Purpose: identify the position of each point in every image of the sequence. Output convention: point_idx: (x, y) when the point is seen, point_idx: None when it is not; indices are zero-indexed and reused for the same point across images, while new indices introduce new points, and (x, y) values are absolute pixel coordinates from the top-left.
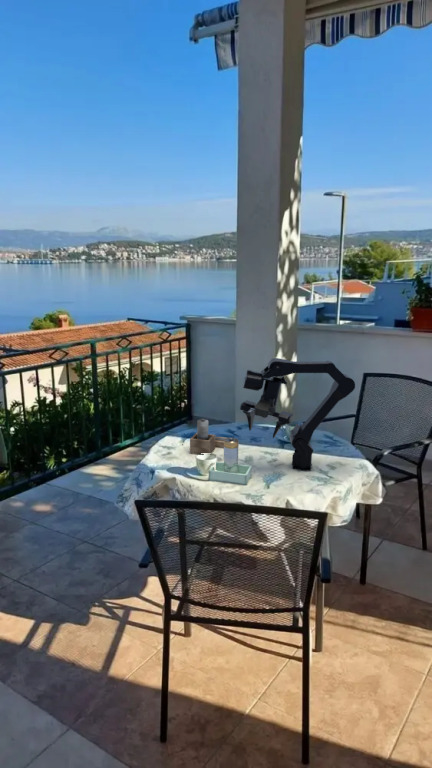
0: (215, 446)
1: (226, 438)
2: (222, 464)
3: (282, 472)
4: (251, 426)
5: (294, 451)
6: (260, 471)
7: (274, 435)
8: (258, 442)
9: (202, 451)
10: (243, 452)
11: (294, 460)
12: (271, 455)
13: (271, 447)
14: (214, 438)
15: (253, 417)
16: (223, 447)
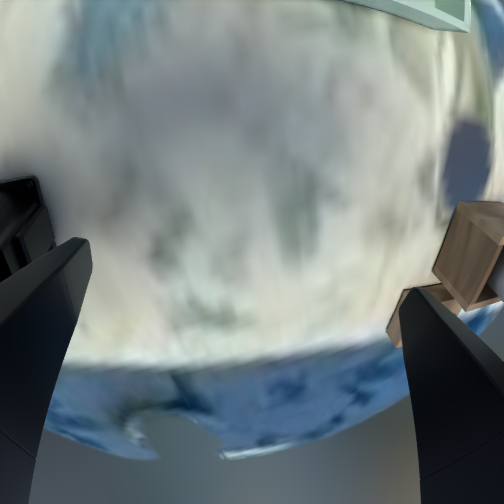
0: (429, 288)
1: (399, 342)
2: (435, 10)
3: (71, 105)
4: (421, 338)
5: (3, 254)
6: (201, 65)
7: (48, 254)
8: (274, 380)
9: (486, 208)
10: (327, 286)
11: (21, 217)
12: (193, 300)
13: (216, 365)
14: (462, 295)
15: (432, 459)
16: (404, 293)
